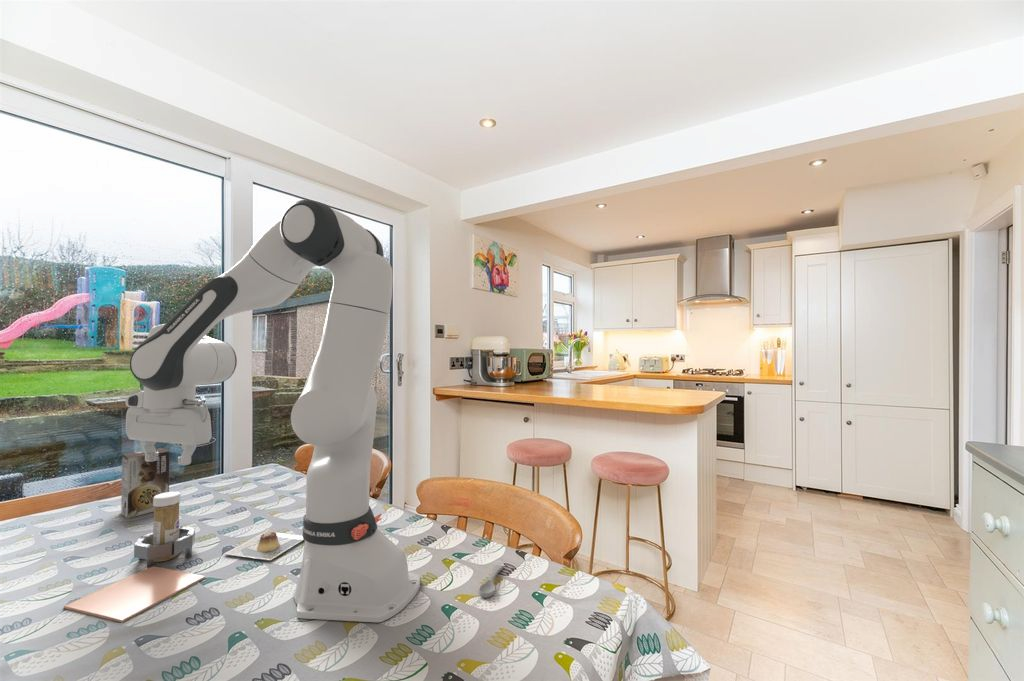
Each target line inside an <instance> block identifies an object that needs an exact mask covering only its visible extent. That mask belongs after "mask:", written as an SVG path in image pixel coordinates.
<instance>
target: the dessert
mask: <svg viewBox="0 0 1024 681" xmlns="http://www.w3.org/2000/svg"><path fill="white" fill-rule="evenodd" d="M265 529H266V531H264V532H262V533H260V534H258V535H256V536H254V537H252V538H251V539H248V540H247V541H244V542H243V543H241V544H239V545H237V546H236V547H234V548H232V549H230V550H227V551H226V552H224V553H223V555H226V556H232V557H238V558H239V557H240V558H245V559H251V560H260V561H261V560H262V561H268V562H269V561H273V560H274V559H275V558H277V557H279V556H281V555H282V554H284V553H285V552H287V551H288V550H290V549H292V548H293V547H295V546H297V545H298V544H300V543H301V542H303V541H305V540H304V538H303V534H297V533H296V534H294V533H289V532H278V531H271V530H270V528H265ZM278 538H282V539H290V540H299V541H297V542H296V543H294V544H293V545H291V546H289V547H287V548H286V549H284V550H282V551H280V553H277V554H276V555H274V556H272V557H271V558H265V557H257V556H249V555H243V554H237V553H238V552H240V551H242V550H243V549H246V548H247V547H250V546H251V545H253V544H255V543H256V542H258V544H257V547H256V551H257V552H260V553H262V552H263V553H264V552H270V551H274V550H276V549H278V548H279V547H280V541H279V539H278Z"/></svg>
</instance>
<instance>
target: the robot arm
mask: <svg viewBox="0 0 1024 681" xmlns="http://www.w3.org/2000/svg"><path fill="white" fill-rule="evenodd" d="M315 267H322V268H324V269H326V270H329V271H330V273H331V276H332V288H331V292H330V297H329V302H328V305H327V311H326V316H325V321H324V326H323V331H322V335H321V340H320V343H319V346H318V349H317V352H316V356H315V357H314V361H313V363H312V364H311V367H310V369H309V372H308V375H307V378H306V381H305V384H304V387H303V388H302V391H301V393H300V395H299V397H298V399H296V401H295V403H294V405H293V406H292V409H291V413H290V423H291V427H292V430H293V432H294V434H295V435H296V436H297V437H298V438H299V439H300V440H301V441H303V443H306V444H308V445H311V446H314V448H313V452H312V456H311V460H310V463H309V465H308V468H307V470H306V471H307V472H306V486H305V487H306V490H305V492H306V494H305V514H304V515H303V520H302V535H303V538H304V540H303V541H304V544H303V545H304V547H303V554H302V556H303V557H302V562H301V567H300V573H299V577H298V582H297V585H296V589H295V592H294V594H293V597H294V598H293V599H294V602H295V604H296V606H297V607H296V613H295V617H296V618H298V619H306V620H307V619H308V620H309V619H310V620H326V621H345V622H364V623H382V622H384V621H387V620H388V619H391V618H392V617H394V616H395V615H397V614H398V613H400V612H401V611H402V610H403V609H404V608H406V607H407V605H409V604H410V602H412V601H413V599H414V598H415V597H416V595H417V594H418V592H419V589H420V587H421V578H420V575H419V574H417V573H415V572H414V573H413V572H410V571H409V566H408V561H407V557H406V554H405V552H404V551H403V549H402V548H400V547H399V546H398V545H396V544H395V543H394V542H393V541H392V540H390V539H389V538H388V537H387V536H386V535H385V534H384V533H383V532H382V531H380V530H379V529H378V522H380V521H381V520H382V518H381V516H382V513H379V514H377V515H376V516H375V515H374V513H373V510H372V507H371V506H370V480H371V479H370V477H371V475H370V474H371V461H372V454H373V453H372V452H373V448H374V438H375V431H376V430H375V428H376V420H377V409H378V397H377V393H376V391H375V390H374V389H373V387H372V386H371V385H372V382H373V377H374V375H375V372H376V370H377V366H378V364H379V361H380V358H381V357H382V353H383V348H384V343H385V338H386V332H387V329H388V323H389V318H390V313H391V312H390V311H391V306H392V299H393V282H394V280H393V268H392V266H391V263H390V262H389V261H388V260H387V259H386V258H384V248H383V246H382V242H381V241H380V240H379V239H378V237H377V236H376V235H375V234H374V233H373V232H372V231H370V230H369V229H367V228H364V227H363V225H360V224H359V223H358V222H356V221H355V220H354V219H353V218H351V217H350V216H348V215H346V214H344V213H343V212H341V211H339V210H336V209H334V208H332V207H330V206H329V205H327V204H326V203H324V202H323V203H322V202H321V201H320V202H319V201H317V200H316V201H315V200H312V199H301V200H298V201H295V202H294V203H292V204H291V205H290V206H288V208H287V209H286V210H285V212H284V213H283V215H282V217H281V218H279V219H278V220H276V221H275V222H274V223H272V224H271V226H269V227H268V228H267V229H266V230H265V231H264V232H263V233H262V234H261V235H260V236H259V238H258V239H256V241H255V242H254V243H253V245H252V246H251V247H250V248H249V249H248V251H247V252H246V253H245V255H244V256H243V257H242V258H241V259H240V260H239V261H238V262H237V263H236V264H235V265H234V266H232V267H231V268H230V269H228V270H227V271H226V272H223V273H222V274H221V275H218V276H216V277H214V278H212V279H211V280H209V281H208V282H207V283H205V284H204V285H203V286H202V287H201V288H200V289H199V290H197V292H195V294H194V295H193V296H192V297H190V299H188V301H187V302H186V303H185V304H184V305H182V307H181V308H180V309H179V310H178V311H177V312H175V314H174V315H173V316H172V317H171V318H170V319H169V320H168V321H167V322H166V323H162V324H157V325H155V326H153V327H152V328H150V330H149V332H148V334H147V337H146V339H144V340H143V341H142V342H140V344H138V346H136V348H135V350H133V352H132V354H131V356H130V358H129V359H130V360H129V368H130V373H131V374H132V376H133V377H134V378H135V379H136V381H138V382H139V383H140V384H141V385H142V386H143V390H141V391H139V392H137V393H133V394H131V395H129V396H127V397H125V406H126V407H128V409H127V411H126V413H125V414H126V415H125V434H126V436H127V438H128V439H129V440H133V441H140V447H141V449H142V451H144V453H145V461H149V462H153V461H157V460H158V455H159V452H156V450H155V449H156V447H155V445H156V444H157V443H162V444H163V443H165V444H175V445H181V450H183V451H182V454H181V455H180V456H178V457H177V465H179V466H188V465H190V464H191V463H192V456H193V454H194V452H195V450H196V449H197V446H200V445H203V444H207V443H208V444H209V442H210V440H211V439H212V436H213V435H212V421H211V420H212V419H211V414H210V412H209V408H208V406H207V404H205V403H204V401H203V400H201V399H196V389H197V388H196V387H197V386H202V385H211V384H212V385H213V384H218V383H222V382H225V381H227V380H229V379H230V378H231V377H232V376H233V374H234V373H235V370H236V368H237V364H238V360H237V359H238V358H237V353H236V351H235V349H234V348H233V346H232V345H231V344H229V343H228V342H226V341H222V340H218V339H216V338H212V337H210V336H208V335H207V334H208V333H210V331H211V330H212V329H213V328H214V327H215V326H216V325H217V324H219V323H220V322H221V321H222V320H224V319H226V318H229V317H230V316H234V315H236V314H240V313H244V312H249V311H255V310H261V309H268V308H274V307H276V306H279V305H281V304H282V303H283V302H285V301H286V300H287V299H289V298H290V297H291V296H292V295H293V294H294V293H295V292H296V291H297V289H298V287H299V286H300V284H301V283H302V282H303V280H304V279H305V278H306V276H307V275H308V274H309V272H310V271H312V269H313V268H315Z"/></svg>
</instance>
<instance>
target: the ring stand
mask: <svg viewBox="0 0 1024 681" xmlns="http://www.w3.org/2000/svg"><path fill="white" fill-rule="evenodd" d="M195 540H196V528H195V527H190V526H182V525H181V526H180V525H179V539H177V540H174V541H172V542H167V543H161V544H155V545H154V544H153V531H152V532H150V533H148V534H145V535H141V536H139V538H138V539H137V540H136V541H135V543H134V545H133V546H134V547H133V550H134V552H133V557H134V558H135V559H138V560H139V561H143V560H146V567H145V569H147V568H150V567H153V566H155V561H154V559H156V558H161V557H167V556H172V555H175V554H177V553H179V554H180V553H182V552H183V551H184V559H187V558H191V557H192V556H193V545H194V544H195Z"/></svg>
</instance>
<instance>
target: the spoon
mask: <svg viewBox="0 0 1024 681" xmlns="http://www.w3.org/2000/svg"><path fill="white" fill-rule="evenodd" d="M503 570H504V566H503V565H500V564H494V565H493V567H492V570H491V572H490V574H489V576H488V578H487V581H486V582H485V583H483V584H482V585H480V587H479V589H478V593H479V595H480V597H481V598H483V599H484V598H485V599H489V598H491V597H493V596H494V594H495V593H496V587H495V584H494V581H495V579H496V578H497V576H498V574H499V573H500V572H501V571H503Z"/></svg>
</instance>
